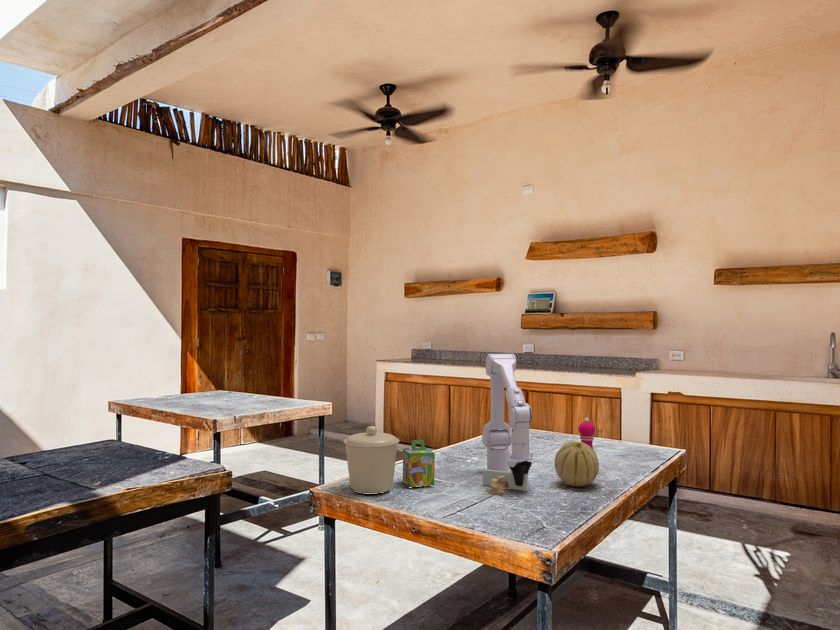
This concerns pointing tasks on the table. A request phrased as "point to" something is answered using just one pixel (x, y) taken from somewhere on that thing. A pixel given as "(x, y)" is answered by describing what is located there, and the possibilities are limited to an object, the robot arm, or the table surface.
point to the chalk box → (418, 465)
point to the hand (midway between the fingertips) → (520, 484)
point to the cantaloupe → (576, 464)
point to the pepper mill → (587, 432)
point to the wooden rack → (498, 485)
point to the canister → (371, 460)
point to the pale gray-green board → (492, 474)
